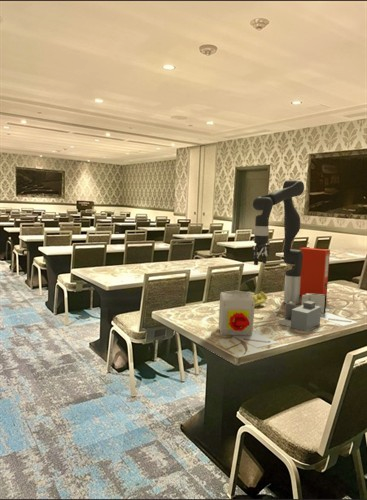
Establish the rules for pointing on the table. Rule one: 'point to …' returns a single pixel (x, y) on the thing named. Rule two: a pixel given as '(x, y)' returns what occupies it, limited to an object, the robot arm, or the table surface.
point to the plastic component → (259, 298)
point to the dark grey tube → (289, 310)
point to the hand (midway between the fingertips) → (260, 264)
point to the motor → (303, 316)
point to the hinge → (316, 300)
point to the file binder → (314, 271)
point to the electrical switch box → (236, 313)
